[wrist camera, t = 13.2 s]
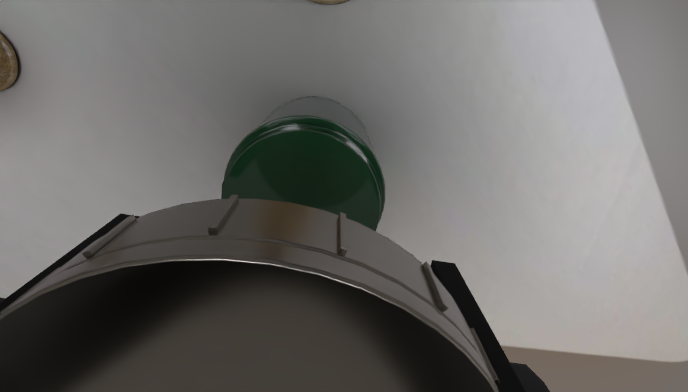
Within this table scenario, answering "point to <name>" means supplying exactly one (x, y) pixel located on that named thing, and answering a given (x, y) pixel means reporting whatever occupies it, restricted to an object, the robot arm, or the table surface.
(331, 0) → the hand bell
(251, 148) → the jar
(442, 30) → the table surface
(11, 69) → the sprinkles bottle
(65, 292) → the lid
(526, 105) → the table surface
